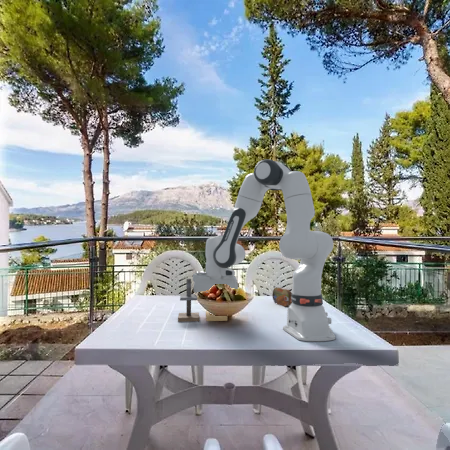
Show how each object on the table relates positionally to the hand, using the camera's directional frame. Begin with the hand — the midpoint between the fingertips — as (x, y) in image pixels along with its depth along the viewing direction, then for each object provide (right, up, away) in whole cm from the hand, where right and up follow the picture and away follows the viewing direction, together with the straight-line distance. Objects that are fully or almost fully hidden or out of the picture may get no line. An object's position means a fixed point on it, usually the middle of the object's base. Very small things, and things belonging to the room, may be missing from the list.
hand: (215, 301), depth 174 cm
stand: (-12, -6, -7) cm, 15 cm away
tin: (+33, -6, +21) cm, 40 cm away
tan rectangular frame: (0, -6, -3) cm, 7 cm away
